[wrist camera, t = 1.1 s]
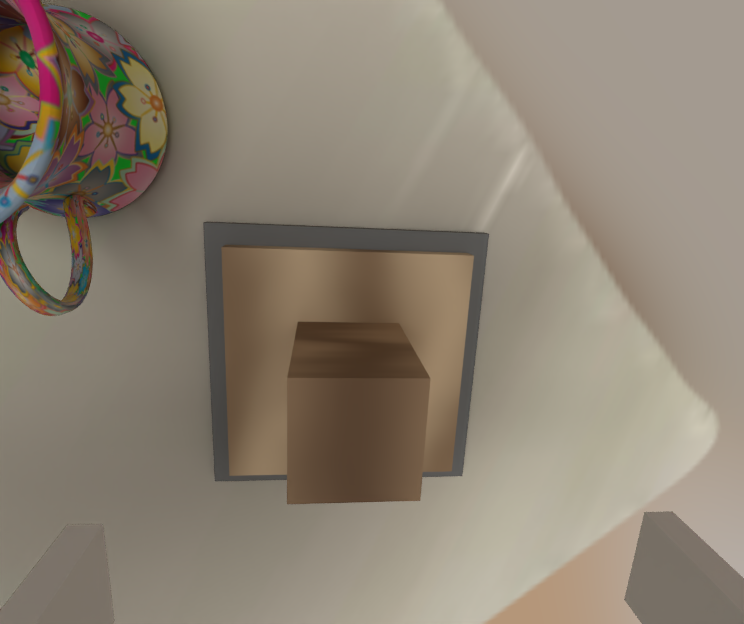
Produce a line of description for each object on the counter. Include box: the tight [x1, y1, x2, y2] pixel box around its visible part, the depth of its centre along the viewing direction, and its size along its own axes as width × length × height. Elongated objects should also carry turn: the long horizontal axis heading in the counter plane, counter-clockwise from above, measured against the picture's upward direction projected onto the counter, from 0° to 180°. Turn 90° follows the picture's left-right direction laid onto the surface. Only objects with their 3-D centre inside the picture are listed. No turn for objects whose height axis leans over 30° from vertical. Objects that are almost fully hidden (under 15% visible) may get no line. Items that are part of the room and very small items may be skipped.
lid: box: [221, 245, 474, 504], centre depth 20 cm, size 12×12×8 cm
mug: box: [0, 0, 167, 316], centre depth 16 cm, size 12×9×11 cm
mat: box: [203, 222, 489, 481], centre depth 25 cm, size 14×14×1 cm
